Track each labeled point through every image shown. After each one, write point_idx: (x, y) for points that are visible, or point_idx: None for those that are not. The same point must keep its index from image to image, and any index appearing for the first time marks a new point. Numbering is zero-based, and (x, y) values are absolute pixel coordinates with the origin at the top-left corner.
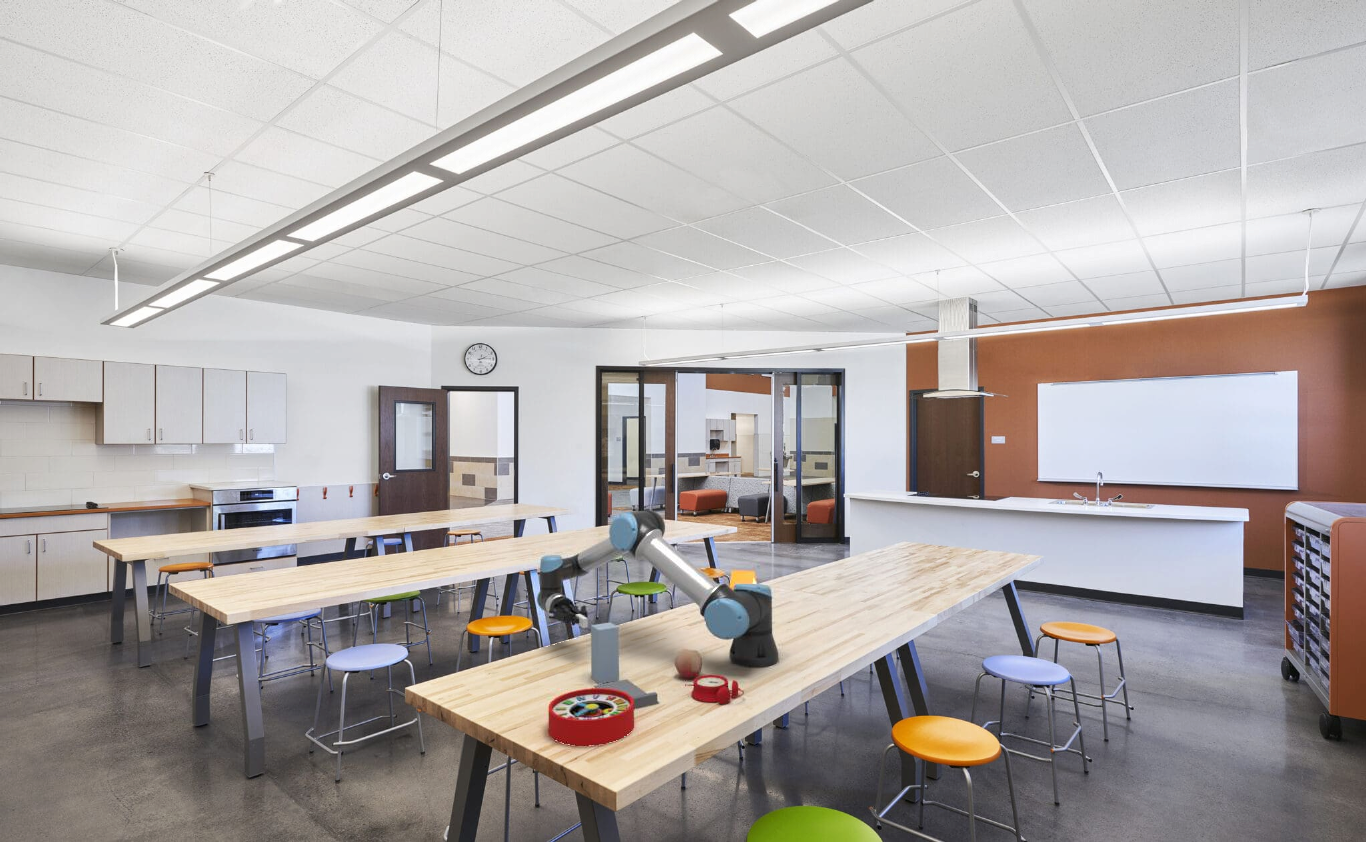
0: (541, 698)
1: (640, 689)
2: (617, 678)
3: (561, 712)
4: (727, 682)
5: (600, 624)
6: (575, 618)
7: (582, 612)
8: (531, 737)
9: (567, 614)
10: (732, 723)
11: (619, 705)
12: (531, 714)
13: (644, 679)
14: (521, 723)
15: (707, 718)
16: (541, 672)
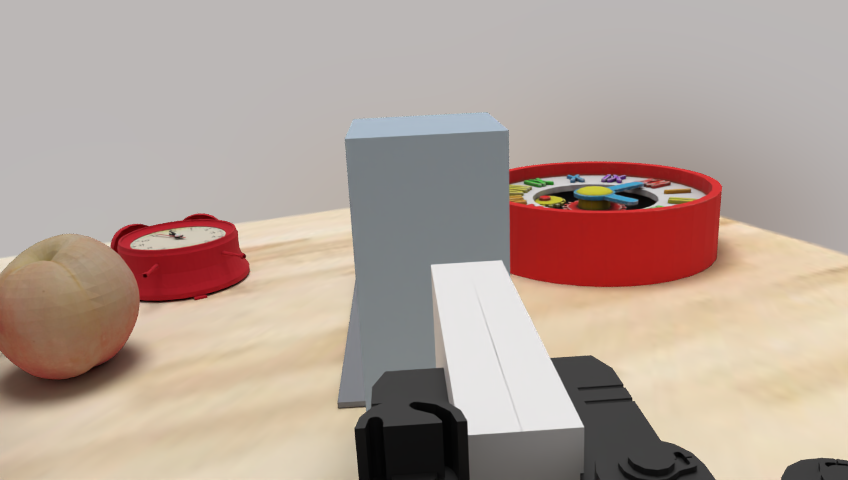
0: (802, 374)
1: (351, 328)
2: None
3: (680, 197)
4: (152, 226)
5: (434, 131)
6: (602, 379)
7: (388, 423)
8: (761, 244)
9: (833, 472)
10: (280, 219)
11: (518, 191)
12: (804, 305)
13: (256, 395)
14: (821, 280)
15: (307, 232)
16: None
